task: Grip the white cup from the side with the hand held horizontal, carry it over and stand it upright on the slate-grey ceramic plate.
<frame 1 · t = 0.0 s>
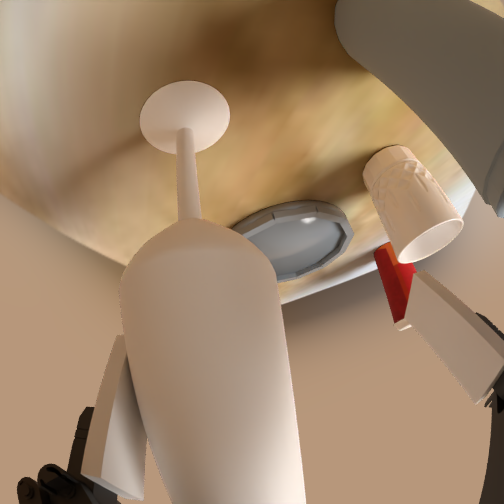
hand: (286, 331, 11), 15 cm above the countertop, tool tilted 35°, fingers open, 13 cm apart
spray bottle: (386, 22, 12), on the countertop
champagne flute: (184, 118, 18), on the countertop
plate: (285, 244, 37), on the countertop
white cup: (386, 165, 26), on the countertop
coffee cup: (387, 247, 46), on the countertop
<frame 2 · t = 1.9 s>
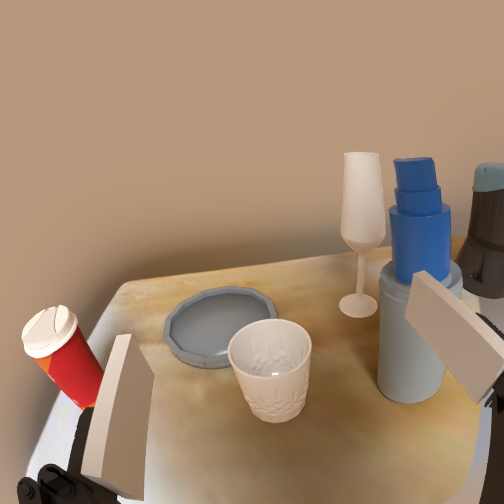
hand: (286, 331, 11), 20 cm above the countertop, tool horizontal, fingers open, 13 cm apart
spray bottle: (410, 377, 26), point 1 cm above the countertop
champagne flute: (358, 305, 42), on the countertop
plate: (220, 326, 42), on the countertop
white cup: (277, 401, 29), on the countertop
coffee cup: (103, 404, 29), on the countertop
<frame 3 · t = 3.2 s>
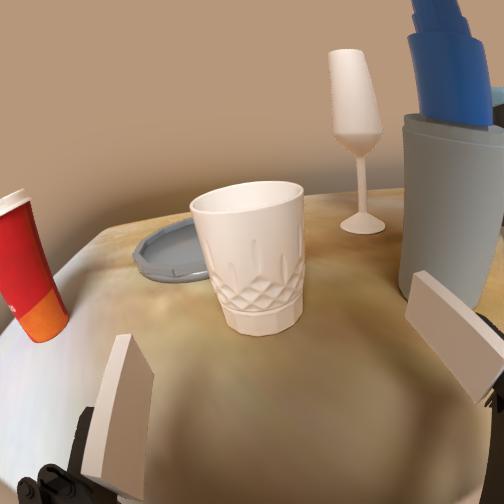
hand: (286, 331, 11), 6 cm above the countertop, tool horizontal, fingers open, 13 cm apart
spray bottle: (440, 284, 20), on the countertop
champagne flute: (362, 226, 36), on the countertop
plate: (200, 247, 37), on the countertop
white cup: (263, 312, 23), on the countertop
coffee cup: (49, 328, 23), on the countertop
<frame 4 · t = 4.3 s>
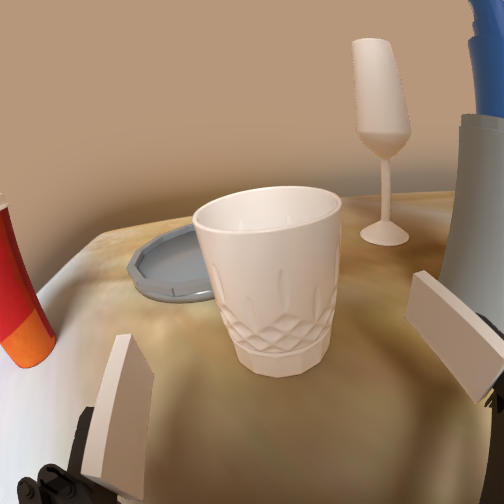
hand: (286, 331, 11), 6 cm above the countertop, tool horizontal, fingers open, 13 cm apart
spray bottle: (475, 308, 16), on the countertop
champagne flute: (384, 235, 32), on the countertop
plate: (204, 258, 32), on the countertop
white cup: (282, 344, 18), on the countertop
coffee cup: (35, 350, 19), on the countertop
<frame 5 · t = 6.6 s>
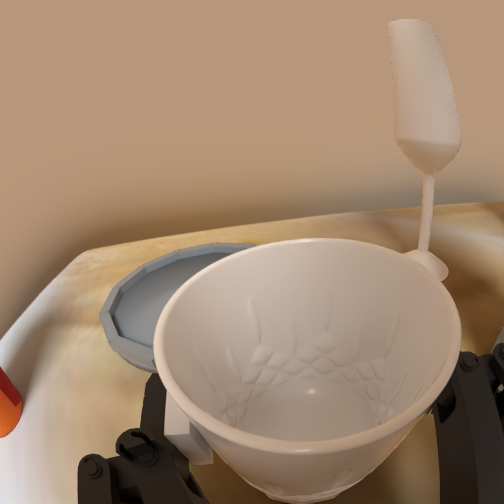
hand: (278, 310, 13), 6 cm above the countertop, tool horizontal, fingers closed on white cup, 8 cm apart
champagne flute: (420, 268, 24), on the countertop
plate: (196, 301, 25), on the countertop
white cup: (306, 451, 11), on the countertop, touching gripper
coffee cup: (3, 414, 11), on the countertop
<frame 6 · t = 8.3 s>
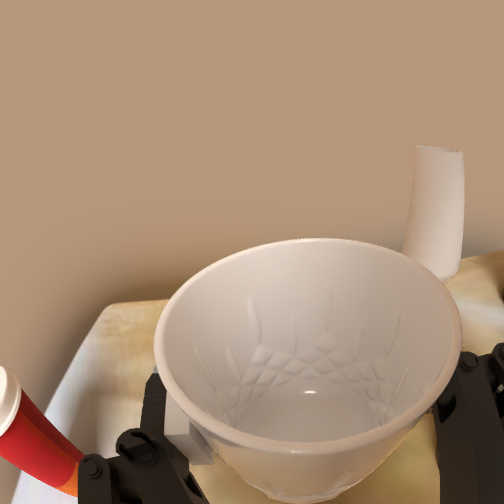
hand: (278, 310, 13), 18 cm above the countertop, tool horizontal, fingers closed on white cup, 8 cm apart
champagne flute: (407, 350, 29), on the countertop
white cup: (306, 451, 11), point 12 cm above the countertop, touching gripper
coffee cup: (78, 477, 16), on the countertop
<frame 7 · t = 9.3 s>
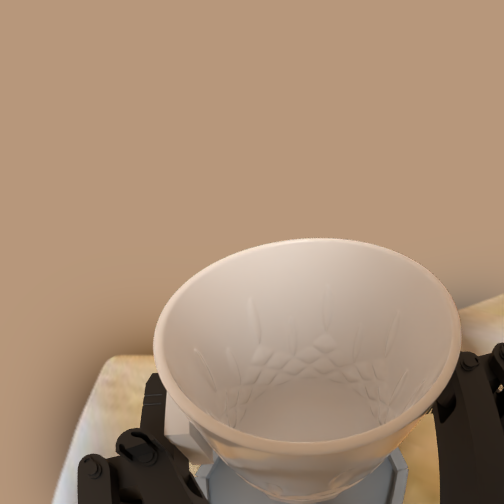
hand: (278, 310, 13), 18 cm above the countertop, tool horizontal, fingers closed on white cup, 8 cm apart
plate: (302, 488, 16), on the countertop
white cup: (306, 451, 11), point 12 cm above the countertop, touching gripper
when the fingers open (8 cm above the countertop, at t = 11.5 s): white cup drops 1 cm, resting on plate.
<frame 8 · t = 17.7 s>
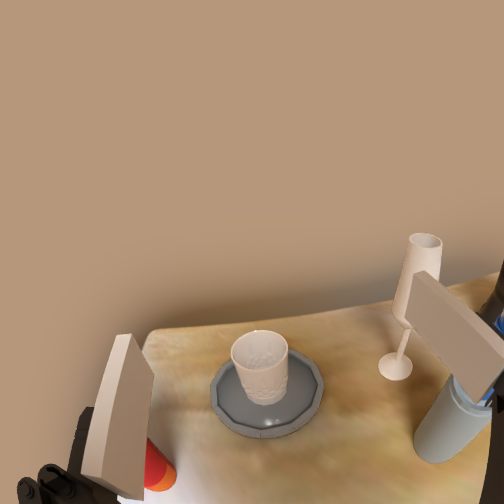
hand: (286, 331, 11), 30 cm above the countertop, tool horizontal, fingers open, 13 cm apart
spray bottle: (438, 438, 24), on the countertop
champagne flute: (395, 366, 39), on the countertop
plate: (267, 392, 40), on the countertop
white cup: (266, 389, 40), point 1 cm above the countertop, touching plate
coffee cup: (158, 476, 26), on the countertop
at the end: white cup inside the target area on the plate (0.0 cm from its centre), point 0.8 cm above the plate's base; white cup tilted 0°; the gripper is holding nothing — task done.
